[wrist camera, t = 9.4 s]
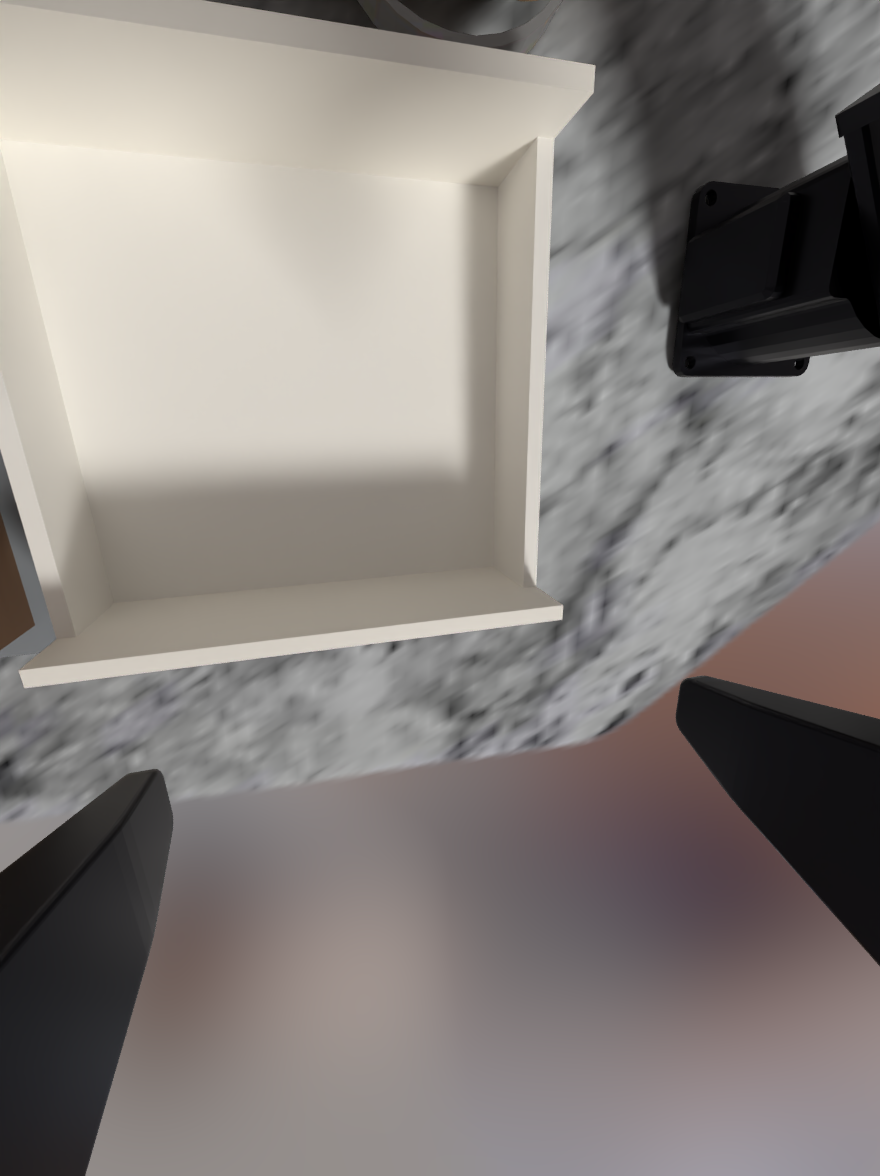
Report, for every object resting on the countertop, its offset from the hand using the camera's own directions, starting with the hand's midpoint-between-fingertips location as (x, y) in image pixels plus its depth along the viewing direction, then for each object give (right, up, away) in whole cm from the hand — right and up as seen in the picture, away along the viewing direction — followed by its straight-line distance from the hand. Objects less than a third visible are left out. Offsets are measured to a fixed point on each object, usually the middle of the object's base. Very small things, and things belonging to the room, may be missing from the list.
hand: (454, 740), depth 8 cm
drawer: (-5, +9, +9) cm, 14 cm away
